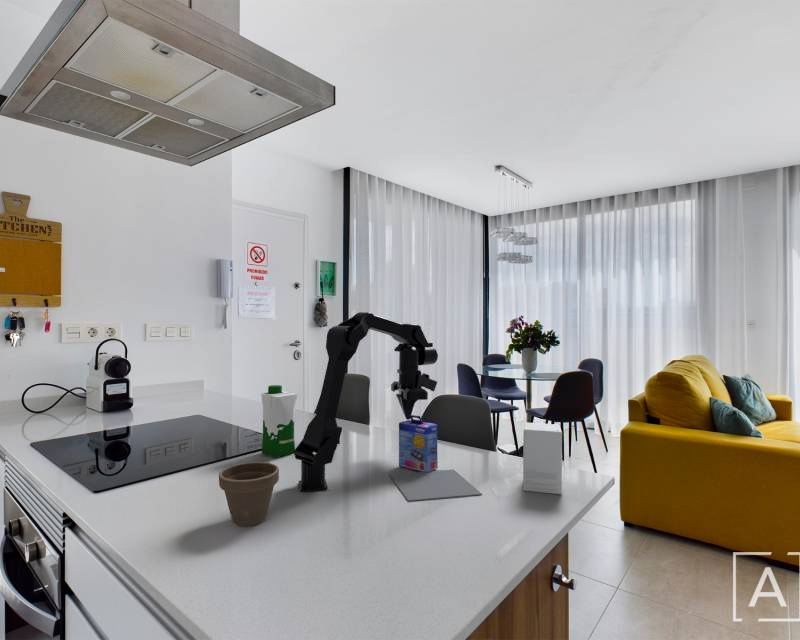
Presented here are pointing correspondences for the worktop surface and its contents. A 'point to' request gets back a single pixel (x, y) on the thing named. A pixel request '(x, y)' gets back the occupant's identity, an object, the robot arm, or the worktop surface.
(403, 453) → the ink cartridge box
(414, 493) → the charcoal mat
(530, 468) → the supplement box
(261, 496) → the flower pot
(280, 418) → the milk carton
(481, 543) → the worktop surface
